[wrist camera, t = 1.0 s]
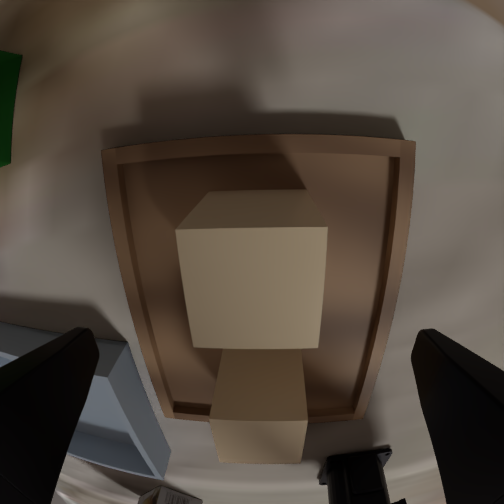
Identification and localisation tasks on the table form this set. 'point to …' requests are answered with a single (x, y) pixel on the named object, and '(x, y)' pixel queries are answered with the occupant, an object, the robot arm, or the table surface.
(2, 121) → the milk carton
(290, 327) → the tan rectangular block
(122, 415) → the slate bin
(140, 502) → the coffee box
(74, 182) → the table surface
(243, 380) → the stone
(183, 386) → the walnut caddy
